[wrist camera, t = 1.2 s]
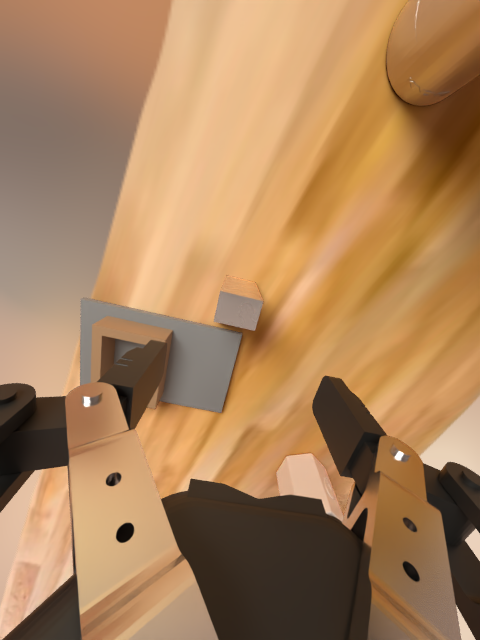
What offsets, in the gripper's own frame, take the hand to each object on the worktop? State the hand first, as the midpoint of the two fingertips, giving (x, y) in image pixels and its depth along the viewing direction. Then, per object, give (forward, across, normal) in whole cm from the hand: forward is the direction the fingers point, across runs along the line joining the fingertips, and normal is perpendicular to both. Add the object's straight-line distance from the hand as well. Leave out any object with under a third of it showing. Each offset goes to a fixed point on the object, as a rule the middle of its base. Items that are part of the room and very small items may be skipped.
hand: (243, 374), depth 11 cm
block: (+20, 0, +2) cm, 20 cm away
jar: (+20, -18, +30) cm, 41 cm away
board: (+20, +10, +13) cm, 26 cm away
